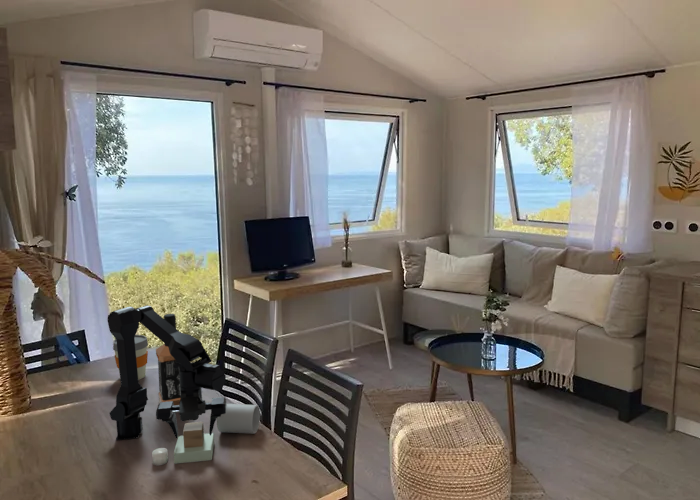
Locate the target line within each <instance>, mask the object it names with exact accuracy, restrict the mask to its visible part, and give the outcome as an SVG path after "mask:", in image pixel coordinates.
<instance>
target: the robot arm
mask: <svg viewBox="0 0 700 500" xmlns="http://www.w3.org/2000/svg"><path fill="white" fill-rule="evenodd" d="M140 324H141V325H142V326H143V327H145V328H146V329H147V330H148V331H149V332H151V333H152V334H153V335H154V336H155V337H156V338H158V339H159V340H160V341H161V342H162V343H164V344H166V345H167V346H168V348H169V352H170V354H171V355H172V356H173V358H174V359H175V360H176V361H177V363H176V364H175V365H173V368H175V369H179V377H180V392H181V399H180V402H179V405H175V406H174V403H173V401H170V402H160V404H159V403H158V405H157V408H156V410H155V418H156V420H158V421H160V420H161V422H162V423H163V422H165V423H167V424H168V426H169V427H170V429H171V431H172V433H173V435H174V437H175V438H176V439H178V436H179V428H178V422H177V415H176V413H179V419H180V421H181V422H186V421H187V422H188V421H197V420H198V419H199V418H200V416H202V414H206V411H208V410H209V411H210V416H209V417H210V420H209V431H208V432H209V433H210V435H211V434H212V433H213V430H214V426H215V423H216V422H217V417H220V416H221V414H225V413H226V406H227V398H226V397H225V396H220V397H212V399H211V402H206V400H204V399H203V394H202V393H203V391H202V389H205V390H211V391H215V392H219V391H220V390H222V389H223V387H224V386H225V384H226V378H227V377H226V376H227V375H226V373H225V371H224V370H223V369H221V365H220V364H211V363H212V359H211V357H210V355H209V354H208V352H207V351H206V349H205V348H204V346H203V343H202V342H201V341H200V339H198V338H196V336H195V337H194V336H193V335H192V334H187V333H184V332H181V331H180V330H178V329H177V327H176V328H174V327H173V326H172V325H171V324H170V323H168V322H167V321H166V320H165V319H164V317H162V316H161V315H160V314H158V313H157V312H156V311H155V310H154V308H153V307H152V306H151V305H143V306H140V307H136V308H135V307H133V306H127V307H123V308H120V309H116V310H112V311H111V312H110V313H108V315H107V325H108V329H109V333H111V335H112V336H113V337H114V338H115V339H116V341H117V351H118V361H119V368H118V372H119V371H120V373H119V380H120V387H119V389H118V390H117V394H116V398H115V399H116V400H115V406H114V407H113V408H112V410H110V411H109V416H110V419H111V420H112V421H115V425H116V433H117V434H116V437H115V440H116V441H120V440H121V441H122V440H132V439H138V438H139V437H140V436H141V433H142V432H143V430H144V429H143V426H144V425H143V417H142V416H141V413H143V412H144V411H145V407H146V406H147V404H148V403H147V401H149V398H148V390H147V387H143V386H142V384H140V382H139V380H138V371H137V360H136V349H135V339H134V337H135V335H137V332H138V330H139V327H140ZM199 358H200V359H199ZM193 361H194V362H193Z"/></svg>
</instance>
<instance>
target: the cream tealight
mask: <svg viewBox="0 0 700 500" xmlns="http://www.w3.org/2000/svg"><path fill="white" fill-rule="evenodd" d="M151 455H152V464H153V465H154V466H164V465H165V464H167V463H168V461H169V455H168V449H167V448H165V447H159V448H155V449H154V450H152V453H151Z"/></svg>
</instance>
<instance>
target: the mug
mask: <svg viewBox="0 0 700 500" xmlns="http://www.w3.org/2000/svg"><path fill="white" fill-rule="evenodd" d="M226 403H227V402H226ZM260 413H261V411H260V407H259V405H256V404H243V403H242V404H240V403H227V406H226V413H225V414H221V416H220V417H217V419H216V427H217V431H218V432H220V433H232V434H233V433H234V434H235V433H237V434H250V435H252V434H256V433H257V432H258V429H259V426H260V420H261V419H260V418H261V414H260Z"/></svg>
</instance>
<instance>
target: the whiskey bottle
mask: <svg viewBox="0 0 700 500" xmlns="http://www.w3.org/2000/svg"><path fill="white" fill-rule="evenodd" d="M163 319H165V320H166V321H167V322H168V323H170V324H171V325H172V326H173V327H174V328H176V329H177V319H176V314H174V313H167V314H164V316H163ZM155 354H156V358H157V367H158V388H159V392H158V394H157V395H158V405H159V404H160V402H170V401H173V403H174V406H175V405H179V402H180V399H181V392H180V377H179V369H175V368H173V365H175V364H176V363H177V361H176V360H175V359H174V358H173V356H172V355H171V354H170V352H169V348H168V346H167V345H166V344H165V343H164V344H162V345H161V346H159V347H157V348H156V349H155Z"/></svg>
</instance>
